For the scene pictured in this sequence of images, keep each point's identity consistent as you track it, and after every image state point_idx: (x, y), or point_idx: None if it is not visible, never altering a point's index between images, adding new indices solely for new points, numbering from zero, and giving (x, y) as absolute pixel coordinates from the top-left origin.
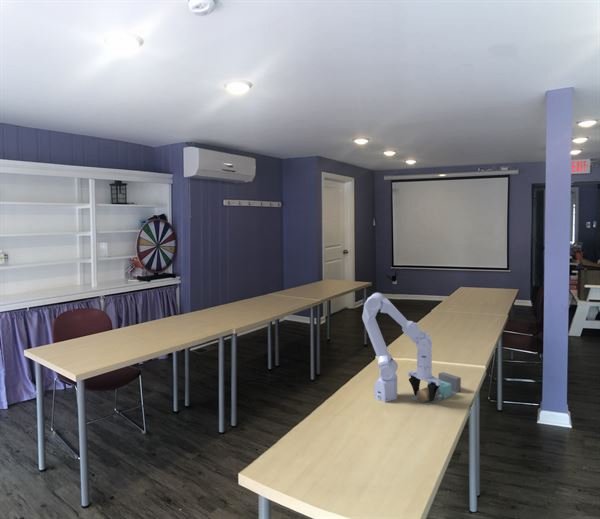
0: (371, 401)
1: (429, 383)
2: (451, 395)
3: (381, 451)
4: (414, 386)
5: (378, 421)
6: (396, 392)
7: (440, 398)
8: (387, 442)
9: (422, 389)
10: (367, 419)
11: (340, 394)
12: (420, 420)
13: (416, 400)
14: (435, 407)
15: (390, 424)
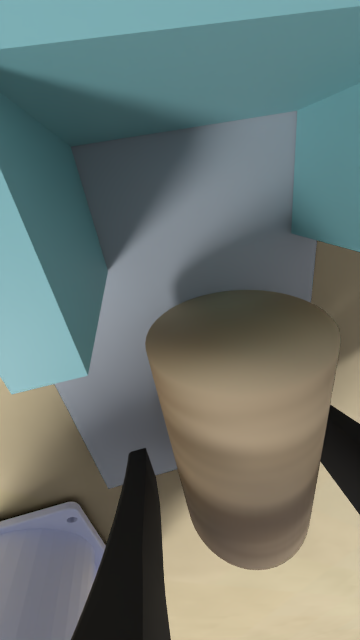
0: None
1: (83, 351)
2: None
3: (354, 600)
4: (167, 623)
5: (238, 597)
6: (75, 608)
7: (285, 255)
8: (342, 590)
9: (263, 554)
10: (203, 617)
11: None
12: (343, 502)
13: None
14: None
15: (281, 577)
